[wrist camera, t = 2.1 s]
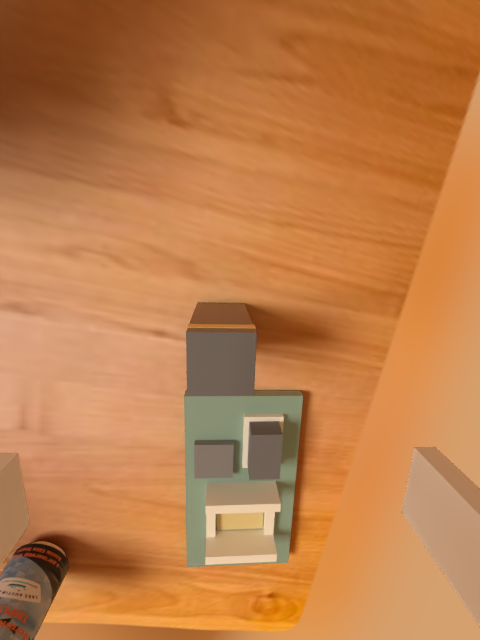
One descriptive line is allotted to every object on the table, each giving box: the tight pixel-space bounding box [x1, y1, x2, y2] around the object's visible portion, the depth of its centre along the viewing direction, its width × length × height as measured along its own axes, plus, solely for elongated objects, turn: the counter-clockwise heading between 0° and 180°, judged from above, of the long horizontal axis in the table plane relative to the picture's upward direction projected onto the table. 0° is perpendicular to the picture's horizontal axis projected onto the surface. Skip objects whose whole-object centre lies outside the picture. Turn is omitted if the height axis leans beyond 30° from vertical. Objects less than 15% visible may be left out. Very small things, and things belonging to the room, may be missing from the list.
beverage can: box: [0, 541, 69, 640], centre depth 29 cm, size 6×7×12 cm
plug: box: [186, 302, 257, 396], centre depth 24 cm, size 5×5×10 cm
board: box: [184, 390, 303, 567], centre depth 32 cm, size 22×12×4 cm, turn 178°
